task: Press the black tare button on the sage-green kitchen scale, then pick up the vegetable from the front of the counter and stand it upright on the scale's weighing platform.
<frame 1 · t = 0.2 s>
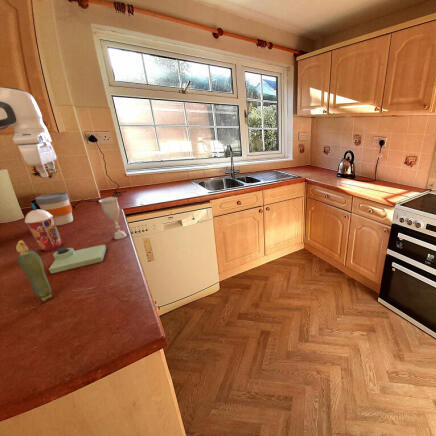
hand: (49, 174, 95), 31 cm above the countertop, tool pointing down, fingers open, 8 cm apart
reusable coffee cup: (62, 222, 132), on the countertop
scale: (81, 259, 94), on the countertop
tare button: (62, 250, 93), point 4 cm above the countertop, slide at 0.1 cm
chalice: (120, 237, 112), on the countertop
smoothie: (52, 248, 104), on the countertop
vegetable: (49, 298, 74), on the countertop
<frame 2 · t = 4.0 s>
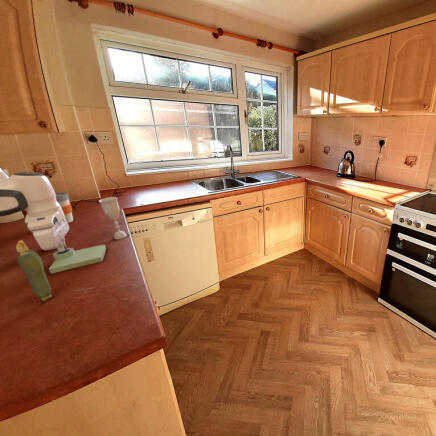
hand: (63, 250, 93), 4 cm above the countertop, tool pointing down, fingers closed, pressing on tare button
tare button: (63, 251, 93), point 3 cm above the countertop, slide at -0.4 cm, touching gripper
everything else where it was.
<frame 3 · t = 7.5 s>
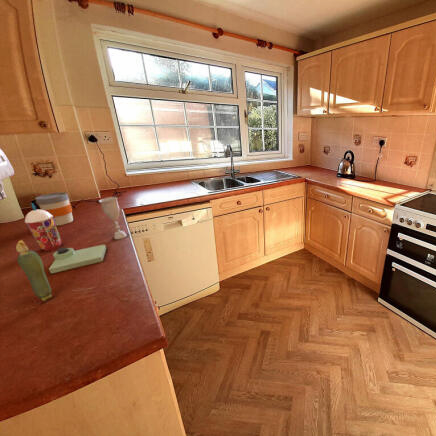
tare button: (62, 250, 93), point 4 cm above the countertop, slide at 0.1 cm
everything else where it was.
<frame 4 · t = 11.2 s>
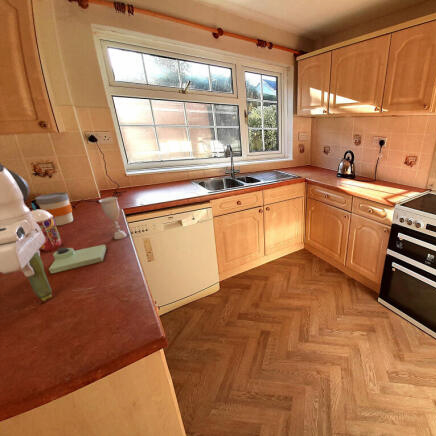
hand: (34, 269, 70), 10 cm above the countertop, tool pointing down, fingers closed on vegetable, 4 cm apart
vegetable: (49, 298, 74), on the countertop, touching gripper
everything else where it was.
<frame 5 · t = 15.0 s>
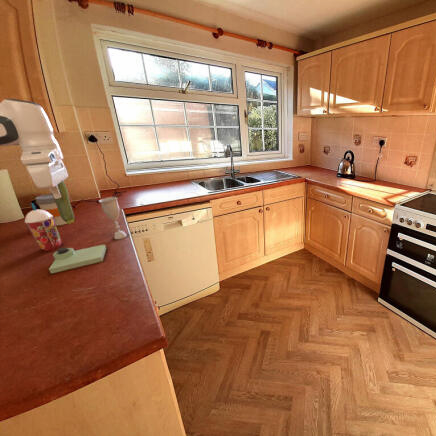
hand: (60, 196, 84), 26 cm above the countertop, tool pointing down, fingers closed on vegetable, 4 cm apart
vegetable: (72, 223, 87), point 16 cm above the countertop, touching gripper
everything else where it was.
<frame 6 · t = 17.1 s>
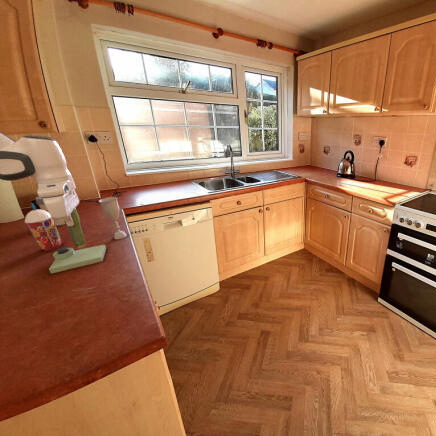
hand: (73, 222, 88), 16 cm above the countertop, tool pointing down, fingers closed on vegetable, 4 cm apart
vegetable: (83, 247, 92), point 5 cm above the countertop, touching gripper
everything else where it was.
when the fingers open (12 cm above the countertop, at t = 18.7 s): vegetable stays where it is, resting on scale.
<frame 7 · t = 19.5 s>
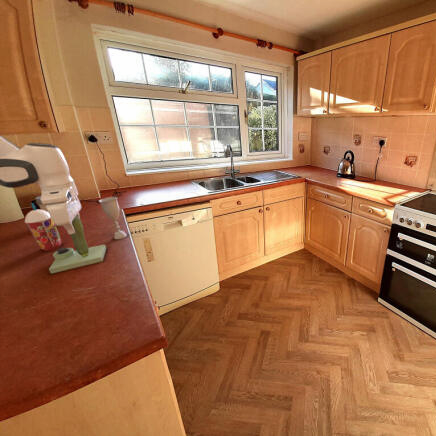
hand: (75, 228, 89), 13 cm above the countertop, tool pointing down, fingers open, 8 cm apart
vegetable: (86, 256, 93), point 2 cm above the countertop, touching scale
everything else where it was.
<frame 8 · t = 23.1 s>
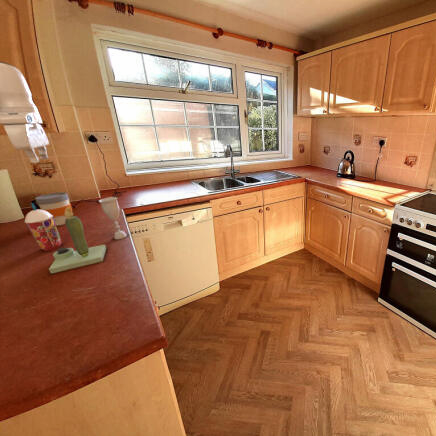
hand: (40, 160, 85), 37 cm above the countertop, tool pointing down, fingers open, 8 cm apart
nothing on the countertop moved.
at the end: tare button pushed in 0.9 cm at the most during the clip, back to where it started at the end; vegetable inside the target area on the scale (3.0 cm from its centre), point 1.7 cm above the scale's base; vegetable tilted 0° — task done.
